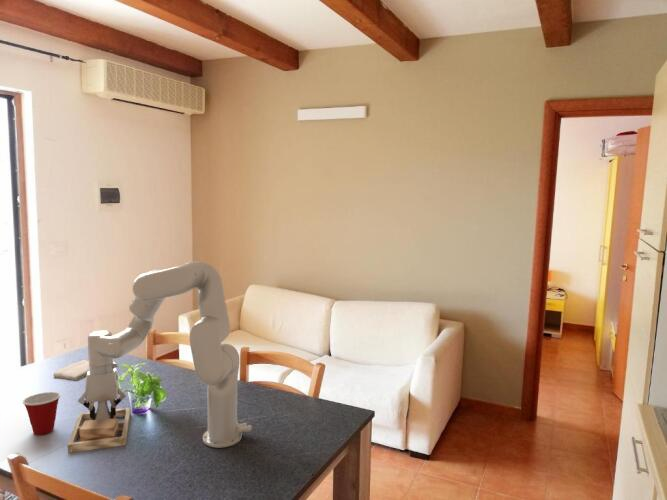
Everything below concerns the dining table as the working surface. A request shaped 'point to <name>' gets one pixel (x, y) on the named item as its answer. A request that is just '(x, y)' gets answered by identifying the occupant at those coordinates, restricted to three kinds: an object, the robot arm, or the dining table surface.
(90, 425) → the offcut upper
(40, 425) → the plastic cup
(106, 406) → the flask
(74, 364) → the washcloth
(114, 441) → the wooden tray
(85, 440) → the offcut lower
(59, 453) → the dining table surface
